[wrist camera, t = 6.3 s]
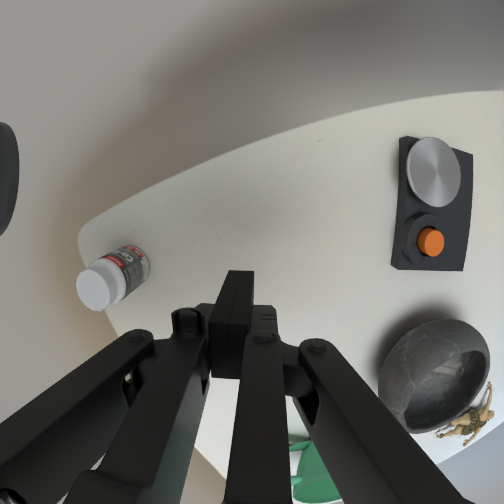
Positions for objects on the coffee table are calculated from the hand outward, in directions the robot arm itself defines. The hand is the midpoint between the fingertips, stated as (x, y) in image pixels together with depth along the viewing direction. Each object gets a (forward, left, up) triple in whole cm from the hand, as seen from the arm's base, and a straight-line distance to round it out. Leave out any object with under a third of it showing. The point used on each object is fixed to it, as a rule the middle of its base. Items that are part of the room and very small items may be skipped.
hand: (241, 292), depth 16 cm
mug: (+30, -9, -12) cm, 34 cm away
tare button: (+8, +16, -9) cm, 20 cm away
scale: (+6, +20, -12) cm, 24 cm away
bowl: (+23, +11, -12) cm, 29 cm away
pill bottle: (-6, -13, -12) cm, 19 cm away
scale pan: (+2, +20, -9) cm, 22 cm away
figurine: (+50, +18, -12) cm, 55 cm away
